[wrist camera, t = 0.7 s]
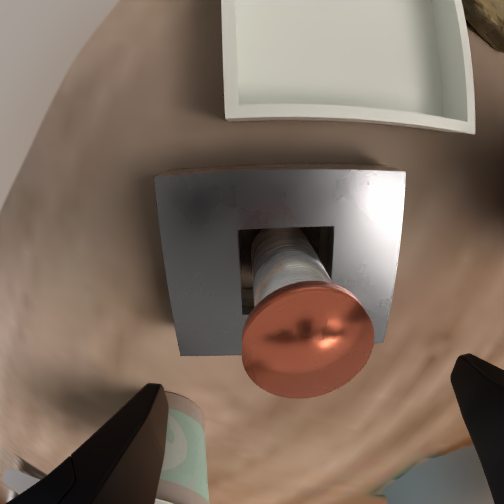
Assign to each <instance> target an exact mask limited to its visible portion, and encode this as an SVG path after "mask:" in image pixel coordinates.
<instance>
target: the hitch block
mask: <svg viewBox="0 0 504 504" xmlns="http://www.w3.org/2000/svg"><path fill="white" fill-rule="evenodd" d="M405 178H406V172H405V171H401V170H398V169H394V168H391V167H387V166H384V165H369V164H259V165H235V166H217V167H202V168H188V169H176V170H168V171H166V172H164V173H162V174H160V175H158V176H156V177H154V183H155V193H156V203H157V212H158V220H159V229H160V237H161V244H162V251H163V259H164V265H165V272H166V279H167V285H168V291H169V297H170V303H171V309H172V314H173V320H174V325H175V330H176V336H177V341H178V346H179V351H180V356H223V355H242V332H243V327H244V324H245V321H246V319H247V317H248V316H249V314H250V312H251V311H252V310H253V308H254V293H253V288H246V289H242V272H241V253H240V234H239V230H240V229H263V228H288V227H317V226H320V245H319V260H320V261H321V263H322V265H323V267H324V268H325V270H326V272H327V274H328V275H329V277H330V279H331V281H332V283H333V284H336V285H339V286H341V287H343V288H345V289H347V290H348V291H350V292H351V293H352V294H353V295H354V296H355V297H356V298H357V299H358V300H359V301H360V303H361V305H362V306H363V308H364V309H365V311H366V313H367V314H368V316H369V318H370V319H371V322H372V324H373V329H374V344H375V343H383V342H384V338H385V333H386V328H387V324H388V318H389V313H390V308H391V302H392V297H393V291H394V284H395V278H396V271H397V264H398V257H399V249H400V240H401V231H402V221H403V209H404V195H405Z"/></svg>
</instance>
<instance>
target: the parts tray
mask: <svg viewBox="0 0 504 504" xmlns="http://www.w3.org/2000/svg"><path fill="white" fill-rule="evenodd" d="M221 11H222V47H223V77H224V103H225V119H226V120H227V121H228V122H234V121H259V120H320V121H345V122H362V123H375V124H386V125H397V126H406V127H414V128H422V129H430V130H437V131H443V132H454V133H466V134H475V98H474V82H473V70H472V61H471V52H470V45H469V38H468V32H467V26H466V20H465V15H464V10H463V5H462V1H461V0H221Z"/></svg>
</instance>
